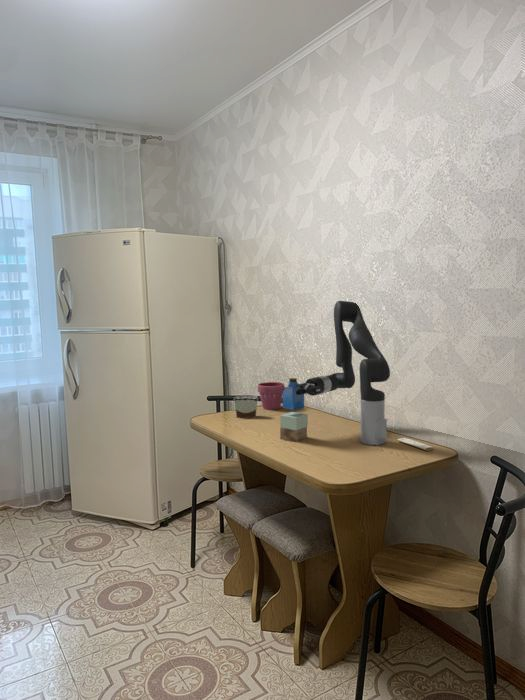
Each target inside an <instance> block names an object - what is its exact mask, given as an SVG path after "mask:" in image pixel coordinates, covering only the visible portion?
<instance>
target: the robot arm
mask: <svg viewBox="0 0 525 700" xmlns="http://www.w3.org/2000/svg"><path fill="white" fill-rule="evenodd" d="M354 302H355V301H346V300H338V301H337V302H336V303H335V305H334V307H333V322H334V325H333V326H334V333H335V343H336V349H335V350H336V351H335V353H336V356H335V364H336V366H337V367H338V368H341V369H342V372H334V373H332V374H328V375H321V376H316V377H315V376H314V377H309V378H308V379H306V381H305V382H302V383H298V382H297V386H298V387H301V389H297V390H296V394H297V395H301V394H304V395H309V396H312V397H313V396H318V395H323V394H326V393H329V392H330V393H331V392H334V391H335V390H338V389H351V388H352V387H354V385H355V383H356V375H355V371H354V367H353V362H352V361H353V349H354V351H355V352H357V353H358V354H359V355H360V356H362V357H364V358H365V359H362V360H361V361H360V363H359V386H360V389H359V390H360V391H359V393H360V443H362V444H364V445H370V446H380V445H383V444H387V437H388V436H387V431H388V430H387V427H388V426H387V425H388V424H387V422H388V420H387V419H386V418H385V413H386V412H385V410H386V408H385V405H386V404H385V403H386V402H385V400H386V399H385V398H386V394H385V392H384V391H382V390H380V389H377V388H374V387H372V383H383V382H387V381H388V380H389V379H390V375H391V370H390V366H389V363H388V361H387V359H386V358H385V357H384V355H383V353H382V352H381V350H380V349H379V347H378V346H377V344H376V342H375V340H374V338H373V335H372V333H371V331H370V329H369V328H368V325H367V324H366V322H365V319H364V316H363V313H362V311H361V308H359V307H360V305H359V304H358V303H357V304H358V305H359V306H358V305H357V304H356V302H355V303H354ZM343 322H347V323H352V324H353V325H352V326H351V327H350V329H349V331H348V337H347V335H346V332H345V330H344V325H343V324H344V323H343ZM288 386H290V384H289V383H288ZM288 386H285V388H286V387H288ZM285 388H284V390H285Z"/></svg>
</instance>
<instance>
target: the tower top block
mask: <svg viewBox="0 0 525 700" xmlns="http://www.w3.org/2000/svg"><path fill="white" fill-rule="evenodd" d="M308 415H309V414H308V413H303V412H297V411H295V412H294V411H289V412H287V413H284V414H280V418H279V419H280V420H279V422H280V423H279V424H280V428H286V429H292V430H299V429H302V428H304V427H307V428H308V426H309V424H308V423H309V422H308V421H309V416H308Z"/></svg>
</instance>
